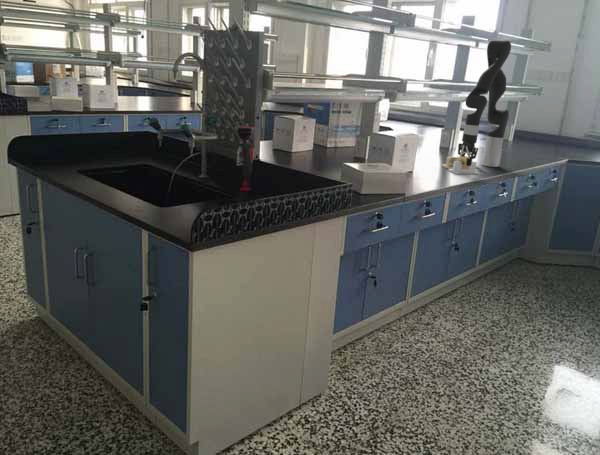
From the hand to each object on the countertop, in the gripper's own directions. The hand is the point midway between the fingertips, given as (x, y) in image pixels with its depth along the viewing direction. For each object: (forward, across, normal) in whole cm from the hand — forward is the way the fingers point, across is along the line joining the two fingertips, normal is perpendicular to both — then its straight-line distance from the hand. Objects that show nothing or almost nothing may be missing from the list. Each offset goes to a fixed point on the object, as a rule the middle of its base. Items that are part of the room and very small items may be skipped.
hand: (464, 164), depth 284 cm
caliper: (+5, +8, -11) cm, 15 cm away
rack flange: (+5, 0, 0) cm, 5 cm away
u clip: (0, 0, 0) cm, 0 cm away
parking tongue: (+5, +12, -1) cm, 13 cm away
